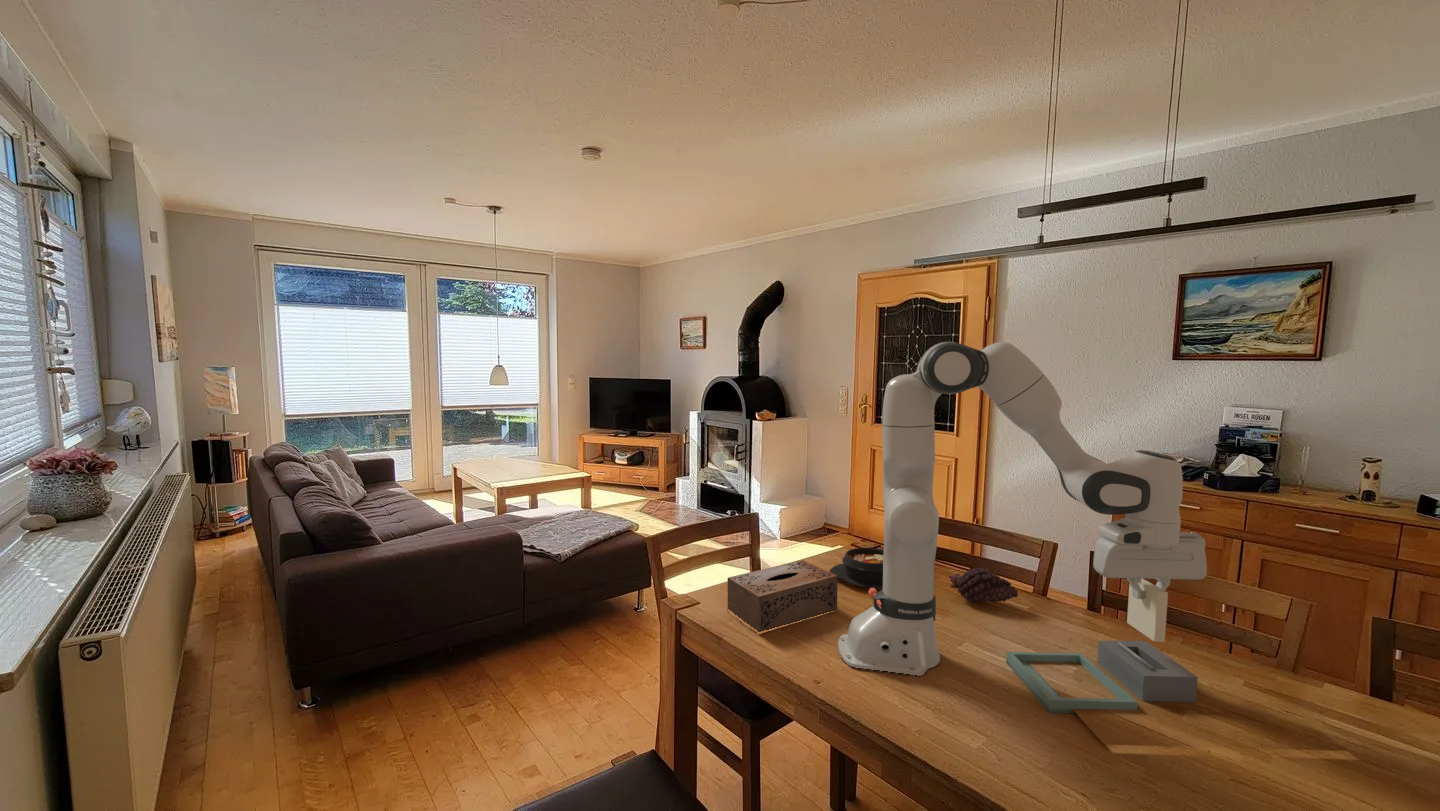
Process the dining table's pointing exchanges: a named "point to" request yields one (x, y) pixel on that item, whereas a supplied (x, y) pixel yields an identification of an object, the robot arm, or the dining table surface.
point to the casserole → (861, 567)
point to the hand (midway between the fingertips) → (1147, 598)
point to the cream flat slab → (1149, 611)
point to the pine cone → (982, 586)
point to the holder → (1147, 671)
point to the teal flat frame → (1051, 696)
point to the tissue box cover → (782, 594)
